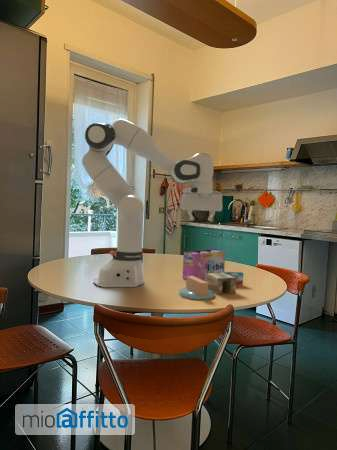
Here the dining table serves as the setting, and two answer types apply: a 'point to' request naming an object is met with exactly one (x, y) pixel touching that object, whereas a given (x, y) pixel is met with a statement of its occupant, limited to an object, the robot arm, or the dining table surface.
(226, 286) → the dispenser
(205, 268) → the gum box
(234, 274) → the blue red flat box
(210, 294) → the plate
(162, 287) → the dining table surface
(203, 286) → the pinkish orange box
